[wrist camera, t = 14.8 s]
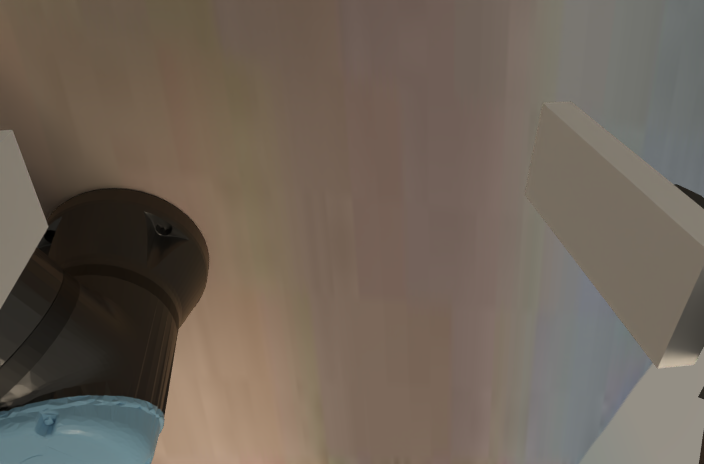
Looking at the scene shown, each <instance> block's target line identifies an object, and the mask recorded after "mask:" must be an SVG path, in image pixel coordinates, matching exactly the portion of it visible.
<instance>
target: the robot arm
mask: <svg viewBox="0 0 704 464" xmlns="http://www.w3.org/2000/svg"><path fill="white" fill-rule="evenodd" d="M525 195H526V197H527V198H528V199H529V201H530V202H531V203H532V205H533V206H534V207H535V209H536V210H537V211H538V213H539V214H540V215H541V216H542V218H543V219H544V220H545V222H546V223H547V224H548V226H549V227H550V228H551V230H552V231H553V232H554V234H555V235H556V236H557V237H558V239H559V240H560V241H561V243H562V244H563V245H564V247H565V248H566V249H567V251H568V252H569V253H570V255H571V256H572V257H573V258H574V260H575V261H576V262H577V264H578V265H579V266H580V268H581V269H582V270H583V272H584V273H585V274H586V276H587V277H588V278H589V279H590V281H591V282H592V283H593V285H594V286H595V287H596V289H597V290H598V291H599V293H600V294H601V295H602V297H603V298H604V299H605V300H606V302H607V303H608V304H609V306H610V307H611V308H612V310H613V311H614V312H615V314H616V315H617V316H618V318H619V319H620V320H621V321H622V323H623V324H624V325H625V327H626V328H627V329H628V331H629V332H630V333H631V335H632V336H633V337H634V339H635V340H636V341H637V342H638V344H639V345H640V346H641V348H642V349H643V350H644V352H645V353H646V354H647V356H648V357H649V358H650V360H651V361H652V362H653V363H654V365H655V366H656V367H657V368H667V367H677V366H686V365H694V364H695V363H696V361H697V359H698V357H699V355H700V353H701V351H702V349H703V347H704V198H703V197H702V196H701V195H699V194H696V193H694V192H692V191H690V190H688V189H686V188H684V187H682V186H679V185H677V184H675V185H673V184H672V183H671V182H670V181H668V180H667V179H666V178H665V177H664V176H662V175H661V174H660V173H659V172H657V171H656V170H655V169H654V168H652V167H651V166H650V165H649V164H647V163H646V162H645V161H644V160H643V159H641V158H640V157H639V156H638V155H636V154H635V153H634V152H633V151H631V150H630V149H629V148H628V147H626V146H625V145H624V144H623V143H621V142H620V141H619V140H618V139H617V138H615V137H614V136H613V135H612V134H610V133H609V132H608V131H607V130H605V129H604V128H603V127H602V126H600V125H599V124H598V123H597V122H596V121H594V120H593V119H592V118H591V117H589V116H588V115H587V114H586V113H584V112H583V111H582V110H581V109H579V108H578V107H577V106H576V105H575V104H573V103H572V102H571V101H569V102H549V103H543V104H542V109H541V114H540V119H539V124H538V129H537V134H536V139H535V144H534V149H533V154H532V159H531V164H530V169H529V174H528V179H527V184H526V189H525ZM208 269H209V254H208V249H207V245H206V243H205V240H204V238H203V236H202V234H201V232H200V231H199V229H198V228H197V227H196V225H195V224H194V223H193V222H192V221H191V220H190V219H189V218H188V217H187V216H186V215H185V214H184V213H183V212H181V211H180V210H179V209H177V208H176V207H174V206H173V205H171V204H169V203H168V202H166V201H164V200H162V199H159V198H157V197H155V196H152V195H149V194H145V193H142V192H137V191H132V190H124V189H104V190H96V191H91V192H87V193H84V194H81V195H78V196H76V197H74V198H72V199H70V200H68V201H66V202H65V203H63V204H62V205H61V206H59V207H58V208H57V209H56V210H55V211H54V212H53V213H52V214H51V215H50V217H49V218H48V220H47V221H46V219H45V216H44V213H43V210H42V208H41V205H40V202H39V200H38V197H37V194H36V192H35V189H34V186H33V184H32V181H31V178H30V176H29V173H28V170H27V168H26V165H25V162H24V159H23V157H22V154H21V151H20V149H19V146H18V143H17V141H16V138H15V135H14V133H13V130H0V464H151V462H152V459H153V456H154V452H155V448H156V444H157V440H158V437H159V434H160V432H161V431H162V429H163V426H164V415H165V409H166V403H167V396H168V390H169V384H170V378H171V372H172V365H173V359H174V353H175V347H176V340H177V334H178V329H179V328H180V327H181V325H182V324H183V322H184V321H185V320H186V318H187V317H188V315H189V314H190V313H191V311H192V310H193V308H194V307H195V306H196V304H197V303H198V301H199V300H200V298H201V296H202V294H203V292H204V289H205V286H206V282H207V276H208ZM698 397H699V398H702V399H704V387H703V389H702V391H701V393H700V395H699V396H698ZM699 464H704V432H703V439H702V446H701V453H700V460H699Z"/></svg>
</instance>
